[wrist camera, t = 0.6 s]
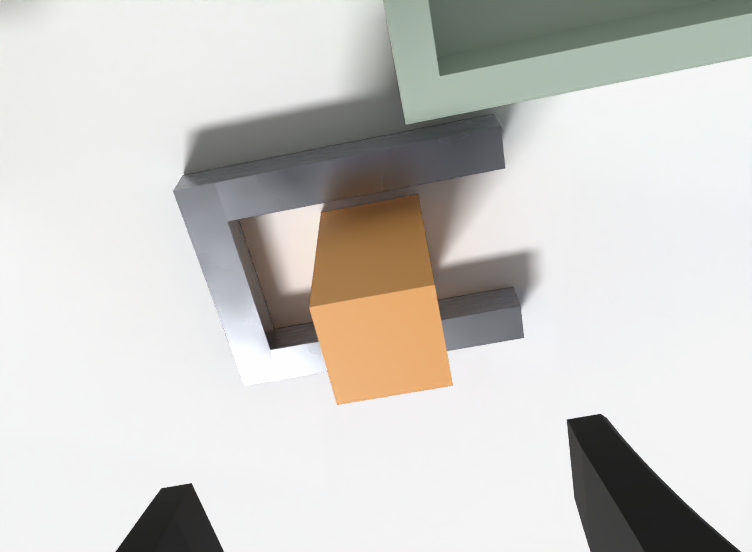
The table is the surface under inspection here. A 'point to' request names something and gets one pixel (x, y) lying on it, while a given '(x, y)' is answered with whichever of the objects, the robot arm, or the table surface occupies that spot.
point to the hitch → (320, 185)
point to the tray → (549, 47)
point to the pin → (377, 302)
